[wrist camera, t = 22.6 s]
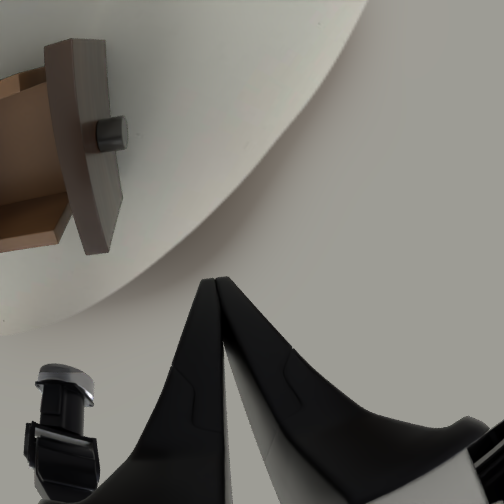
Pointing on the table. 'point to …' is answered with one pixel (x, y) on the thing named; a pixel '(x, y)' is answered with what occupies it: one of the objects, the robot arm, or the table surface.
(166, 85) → the table surface
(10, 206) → the drawer
